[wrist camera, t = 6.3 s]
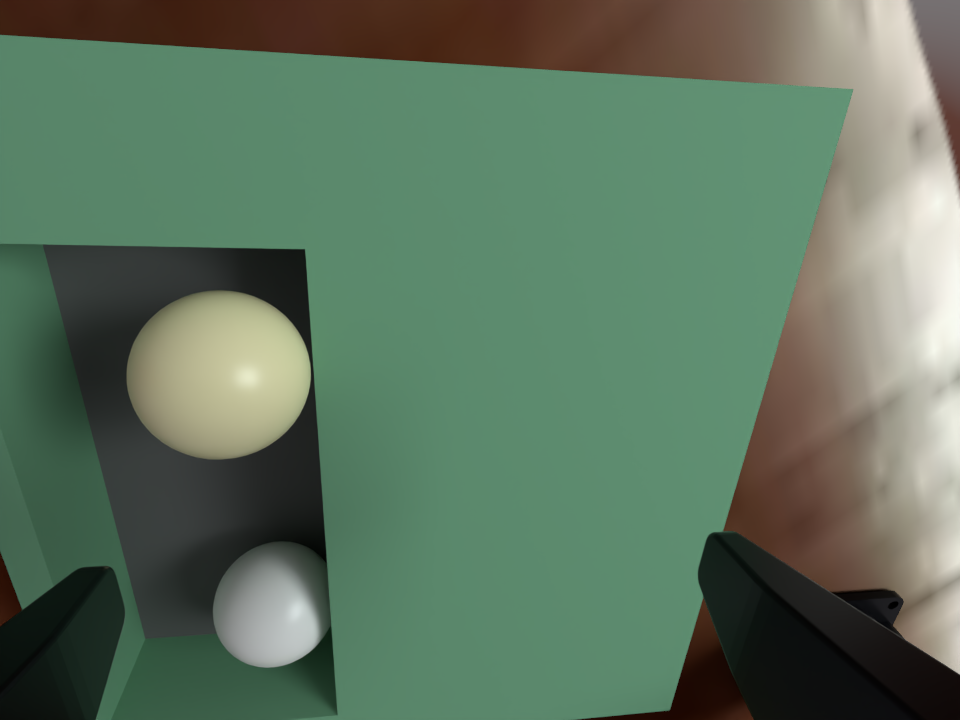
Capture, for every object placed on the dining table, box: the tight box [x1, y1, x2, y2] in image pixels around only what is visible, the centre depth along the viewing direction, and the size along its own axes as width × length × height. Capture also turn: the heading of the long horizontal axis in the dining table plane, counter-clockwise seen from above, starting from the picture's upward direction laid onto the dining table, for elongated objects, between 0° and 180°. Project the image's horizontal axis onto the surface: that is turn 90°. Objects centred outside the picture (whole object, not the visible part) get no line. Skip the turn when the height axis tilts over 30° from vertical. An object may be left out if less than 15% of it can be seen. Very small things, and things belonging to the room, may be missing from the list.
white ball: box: [213, 541, 331, 668], centre depth 21 cm, size 4×4×4 cm
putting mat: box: [0, 35, 853, 720], centre depth 19 cm, size 21×22×4 cm
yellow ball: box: [127, 290, 311, 460], centre depth 14 cm, size 4×4×4 cm
